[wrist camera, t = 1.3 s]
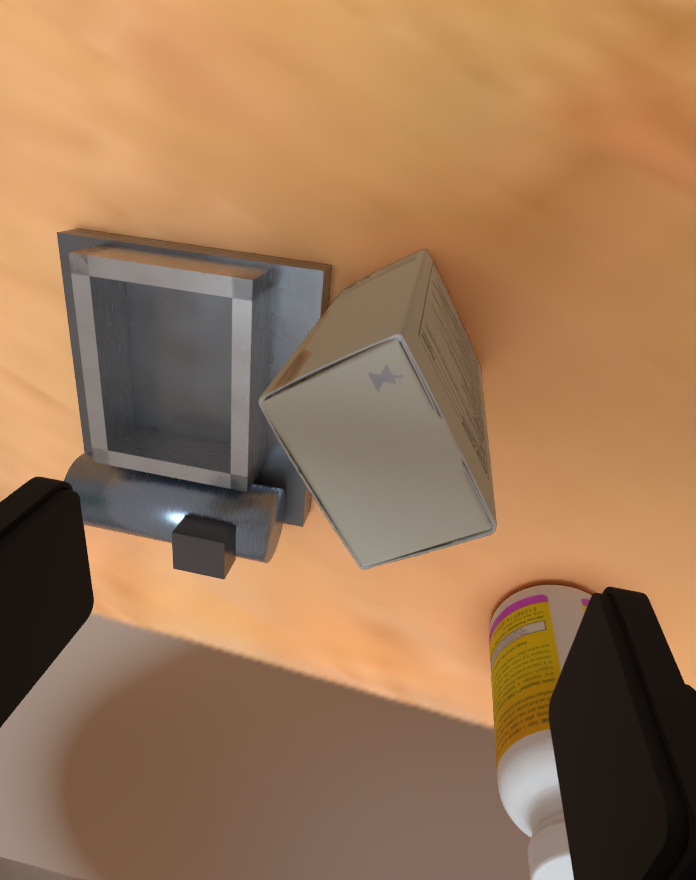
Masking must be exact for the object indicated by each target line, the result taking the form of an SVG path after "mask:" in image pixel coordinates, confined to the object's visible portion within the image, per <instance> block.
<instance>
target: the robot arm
mask: <svg viewBox="0 0 696 880" xmlns="http://www.w3.org/2000/svg"><path fill="white" fill-rule="evenodd" d="M93 603H94V598H93V590H92V583H91V576H90V568H89V561H88V554H87V546H86V539H85V532H84V524H83V517H82V510H81V502H80V497H79V495H78V493H77V492H75V491H73V488H72V486H71V485H70V483H68V482H65V481H59V480H54V479H49V478H44V477H34V478H32V479H30V480H29V481H28V482H26V483H25V484H24V485H22V486H21V487H20V488H18V489H17V490H16V491H14V492H13V493H12V494H10V495H9V496H8V497H7V498H5V499H4V500H3V501H1V502H0V727H1V726H2V725H3V723H4V722H5V721H6V720H7V719H8V717H9V716H10V715H11V714H12V712H13V711H14V710H15V708H16V707H17V706H18V705H19V704H20V702H21V701H22V700H23V699H24V697H25V696H26V695H27V694H28V692H29V691H30V690H31V689H32V687H33V686H34V685H35V684H36V682H37V681H38V680H39V679H40V677H41V676H42V675H43V674H44V672H45V671H46V670H47V669H48V667H49V666H50V665H51V664H52V663H53V661H54V660H55V659H56V658H57V656H58V655H59V654H60V652H61V651H62V650H63V649H64V648H65V646H66V645H67V644H68V643H69V641H70V640H71V639H72V638H73V636H74V635H75V634H76V633H77V631H78V630H79V629H80V628H81V626H82V625H83V624H84V623H85V621H86V620H87V619H88V617H89V615H90V613H91V611H92V608H93ZM549 725H550V731H551V737H552V744H553V750H554V756H555V763H556V769H557V775H558V782H559V788H560V794H561V801H562V807H563V813H564V820H565V826H566V832H567V839H568V845H569V851H570V858H571V864H572V870H573V877H574V880H696V691H695V690H694V689H693V688H692V687H691V686H689V685H686V684H685V683H684V681H683V678H682V676H681V674H680V671H679V669H678V667H677V664H676V662H675V660H674V657H673V655H672V653H671V650H670V648H669V645H668V643H667V641H666V638H665V636H664V634H663V631H662V629H661V627H660V624H659V622H658V620H657V617H656V615H655V613H654V610H653V608H652V606H651V603H650V601H649V599H648V597H647V596H646V595H645V594H644V593H640V592H635V591H630V590H625V589H619V588H614V587H607V588H606V589H605V590H604V592H603V593H602V594H600V593H594V594H593V595H592V596H591V598H590V601H589V603H588V606H587V608H586V611H585V613H584V616H583V618H582V621H581V623H580V626H579V628H578V631H577V633H576V636H575V638H574V641H573V643H572V646H571V648H570V651H569V653H568V656H567V658H566V661H565V663H564V666H563V668H562V671H561V673H560V676H559V678H558V681H557V683H556V686H555V688H554V691H553V694H552V696H551V699H550V703H549ZM0 880H84V879H80V878H77V877H73V876H69V875H66V874H62V873H58V872H55V871H51V870H47V869H43V868H40V867H36V866H32V865H28V864H25V863H21V862H17V861H13V860H9V859H6V858H2V857H0Z"/></svg>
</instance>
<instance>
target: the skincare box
mask: <svg viewBox="0 0 696 880" xmlns="http://www.w3.org/2000/svg"><path fill="white" fill-rule="evenodd" d="M259 406H260V408H261V410H262V411H263V413H264V415H265V417H266V419H267V421H268V423H269V425H270V426H271V428H272V430H273V431H274V433H275V435H276V437H277V439H278V441H279V442H280V444H281V445H282V447H283V449H284V451H285V452H286V454H287V456H288V458H289V459H290V461H291V462H292V464H293V466H294V467H295V469H296V470H297V472H298V474H299V475H300V477H301V478H302V480H303V482H304V483H305V485H306V487H307V488H308V490H309V491H310V493H311V494H312V496H313V497H314V499H315V501H316V502H317V504H318V505H319V507H320V508H321V510H322V512H323V513H324V515H325V516H326V518H327V519H328V521H329V522H330V524H331V526H332V527H333V529H334V530H335V532H336V533H337V535H338V536H339V537H340V539H341V540H342V542H343V544H344V545H345V547H346V548H347V549H348V551H349V552H350V554H351V555H352V557H353V558H354V560H355V561H356V563H357V564H358V566H359V567H360V568H361V569H368V568H372V567H376V566H379V565H382V564H386V563H390V562H395V561H398V560H402V559H406V558H409V557H413V556H418V555H421V554H425V553H428V552H431V551H435V550H438V549H442V548H446V547H450V546H454V545H457V544H460V543H464V542H467V541H470V540H474V539H477V538H481V537H484V536H488V535H491V534H492V533H493V532H494V531H495V530H496V526H497V522H496V512H495V503H494V493H493V483H492V474H491V463H490V453H489V442H488V433H487V423H486V414H485V404H484V394H483V383H482V372H481V367H480V365H479V362H478V360H477V357H476V355H475V352H474V350H473V347H472V345H471V343H470V340H469V338H468V336H467V333H466V331H465V329H464V327H463V324H462V322H461V320H460V318H459V315H458V313H457V311H456V309H455V307H454V305H453V302H452V300H451V298H450V296H449V294H448V292H447V289H446V287H445V285H444V283H443V281H442V279H441V277H440V275H439V273H438V271H437V269H436V267H435V265H434V263H433V261H432V259H431V257H430V255H429V253H428V251H427V250H425V249H423V250H421V251H419V252H416V253H414V254H412V255H410V256H408V257H406V258H404V259H401V260H399V261H397V262H395V263H393V264H391V265H389V266H387V267H385V268H383V269H381V270H379V271H377V272H375V273H373V274H371V275H369V276H367V277H365V278H363V279H361V280H360V281H358V282H356V283H354V284H352V285H351V286H349V287H347V288H345V289H344V290H342V291H341V292H340V294H339V295H338V296H337V297H336V299H335V300H334V301H333V303H332V304H331V305H330V306H329V308H328V309H327V310H326V312H325V313H324V314H323V316H322V317H321V318H320V319H319V321H318V322H317V323H316V325H315V326H314V327H313V328H312V330H311V331H310V332H309V333H308V335H307V336H306V337H305V339H304V340H303V341H302V342H301V344H300V345H299V346H298V348H297V349H296V350H295V352H294V353H293V354H292V356H291V357H290V358H289V360H288V361H287V362H286V363H285V365H284V366H283V367H282V369H281V370H280V371H279V373H278V374H277V375H276V377H275V378H274V379H273V380H272V382H271V383H270V384H269V386H268V387H267V388H266V390H265V391H264V392H263V394H262V395H261V396H260V398H259Z"/></svg>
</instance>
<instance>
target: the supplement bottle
mask: <svg viewBox="0 0 696 880" xmlns="http://www.w3.org/2000/svg"><path fill="white" fill-rule="evenodd" d="M591 596H592V595H590V594H588V593H586V592H584V591H582V590H579V589H576V588H572V587H568V586H562V585H539V586H534V587H530V588H526V589H523V590H521V591H519V592H517V593H515V594H513V595H511V596H510V597H509V598H507V599H506V600H505V601H504V602H503V603H502V604H501V605H500V606H499V607H498V608H497V610H496V611H495V613H494V615H493V617H492V620H491V623H490V630H489V643H490V662H491V681H492V697H493V713H494V730H495V747H496V763H497V764H496V765H497V779H498V788H499V794H500V797H501V800H502V803H503V805H504V808H505V809H506V811H507V813H508V815H509V816H510V818H511V819H512V820H513V821H514V823H515V824H516V825H517V826H518V827H519V828H520V829H521V830H522V831H523V832H524V833H525V834H527V835H528V836H529V837H531V841H530V844H529V847H528V859H529V869H530V878H531V880H574V877H573V870H572V864H571V858H570V851H569V845H568V839H567V832H566V826H565V820H564V813H563V807H562V801H561V794H560V788H559V782H558V775H557V769H556V763H555V756H554V750H553V744H552V737H551V731H550V725H549V703H550V699H551V696H552V694H553V691H554V688H555V686H556V683H557V681H558V678H559V676H560V673H561V671H562V668H563V666H564V663H565V661H566V658H567V656H568V653H569V651H570V648H571V646H572V643H573V641H574V638H575V636H576V633H577V631H578V628H579V626H580V623H581V621H582V618H583V616H584V613H585V611H586V608H587V606H588V603H589V601H590V598H591Z"/></svg>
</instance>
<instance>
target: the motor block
mask: <svg viewBox="0 0 696 880" xmlns="http://www.w3.org/2000/svg"><path fill="white" fill-rule="evenodd" d="M57 237H58V245H59V253H60V261H61V269H62V276H63V284H64V292H65V300H66V308H67V316H68V324H69V332H70V340H71V348H72V356H73V363H74V371H75V379H76V387H77V395H78V403H79V411H80V419H81V427H82V435H83V443H84V451H85V453H84V454H82V455H81V456H79V457H78V458H77V459H76V460H75V461H74V463H73V464H72V465H71V467H70V469H69V470H68V472H67V474H66V477H65V480H64V481H65V482H68V483H70V485H71V486H72V488H73V491H75V492H77V493H78V495H79V497H80V502H81V510H82V517H83V524H84V525H88V526H92V527H97V528H102V529H107V530H111V531H116V532H121V533H126V534H131V535H135V536H140V537H145V538H150V539H154V540H159V541H164V542H169V543H172V548H173V568H174V569H178V570H183V571H188V572H192V573H197V574H202V575H206V576H211V577H216V578H220V579H225V577H226V576H227V574H228V572H229V570H230V569H231V567H232V565H233V563H234V562H235V560H236V557H240V558H245V559H250V560H255V561H259V562H264V563H268V562H269V561H270V560H271V558H272V557H273V555H274V552H275V550H276V547H277V544H278V541H279V538H280V534H281V530H282V526H283V523H286V524H291V525H296V526H301V527H303V525H304V523H305V521H306V519H307V516H308V514H309V512H310V504H311V493H310V491H309V490H308V488H307V487H306V485H305V483H304V482H303V480H302V478H301V477H300V475H299V474H298V472H297V470H296V469H295V467H294V466H293V464H292V462H291V461H290V459H289V458H288V456H287V454H286V452H285V451H284V449H283V447H282V445H281V444H280V442H279V441H278V439H277V437H276V435H275V433H274V431H273V430H272V428H271V426H270V425H269V423H268V421H267V419H266V417H265V415H264V413H263V411H262V410H261V408H260V406H259V398H260V396H261V395H262V394H263V392H264V391H265V390H266V388H267V387H268V386H269V384H270V383H271V382H272V380H273V379H274V378H275V377H276V375H277V374H278V373H279V371H280V370H281V369H282V367H283V366H284V365H285V363H286V362H287V361H288V360H289V358H290V357H291V356H292V354H293V353H294V352H295V350H296V349H297V348H298V346H299V345H300V344H301V342H302V341H303V340H304V339H305V337H306V336H307V335H308V333H309V332H310V331H311V330H312V328H313V327H314V326H315V325H316V323H317V322H318V321H319V319H320V318H321V317H322V316H323V314H324V313H325V312H326V310H327V309H328V300H329V288H330V277H331V266H332V265H328V264H321V263H314V262H307V261H300V260H293V259H286V258H279V257H272V256H265V255H258V254H251V253H244V252H237V251H230V250H223V249H216V248H209V247H202V246H195V245H188V244H181V243H175V242H168V241H161V240H154V239H147V238H140V237H133V236H126V235H119V234H112V233H105V232H98V231H91V230H84V229H73V230H67V231H62V232H57Z"/></svg>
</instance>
